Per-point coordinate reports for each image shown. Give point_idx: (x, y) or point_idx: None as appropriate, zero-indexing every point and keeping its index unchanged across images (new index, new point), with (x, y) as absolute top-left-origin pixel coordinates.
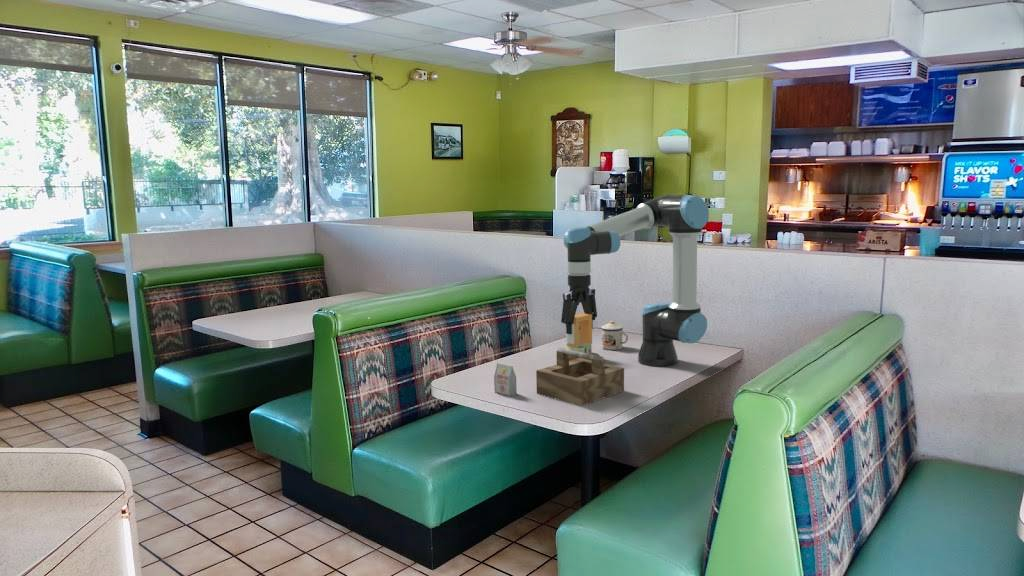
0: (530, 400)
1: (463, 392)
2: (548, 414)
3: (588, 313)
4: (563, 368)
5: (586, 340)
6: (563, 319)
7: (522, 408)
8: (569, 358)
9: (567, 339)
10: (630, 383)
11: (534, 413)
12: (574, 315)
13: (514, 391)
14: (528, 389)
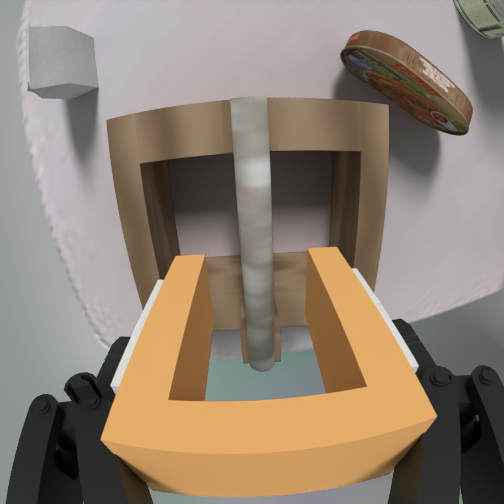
0: (90, 165)
1: (31, 20)
2: (78, 276)
3: (400, 464)
4: (226, 152)
5: (309, 308)
6: (43, 429)
7: (50, 206)
8: (378, 51)
9: (151, 296)
10: (408, 247)
11: (58, 251)
12: (146, 501)
13: (86, 90)
14: (148, 71)
